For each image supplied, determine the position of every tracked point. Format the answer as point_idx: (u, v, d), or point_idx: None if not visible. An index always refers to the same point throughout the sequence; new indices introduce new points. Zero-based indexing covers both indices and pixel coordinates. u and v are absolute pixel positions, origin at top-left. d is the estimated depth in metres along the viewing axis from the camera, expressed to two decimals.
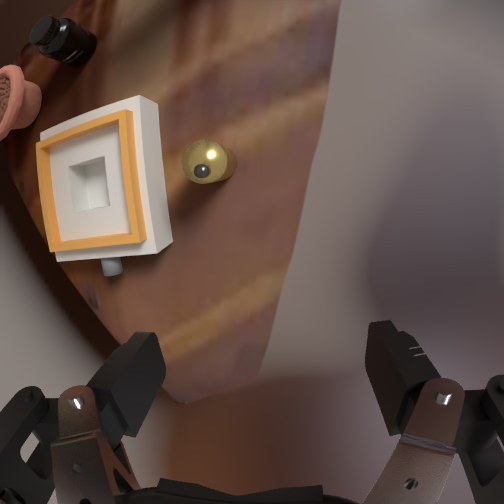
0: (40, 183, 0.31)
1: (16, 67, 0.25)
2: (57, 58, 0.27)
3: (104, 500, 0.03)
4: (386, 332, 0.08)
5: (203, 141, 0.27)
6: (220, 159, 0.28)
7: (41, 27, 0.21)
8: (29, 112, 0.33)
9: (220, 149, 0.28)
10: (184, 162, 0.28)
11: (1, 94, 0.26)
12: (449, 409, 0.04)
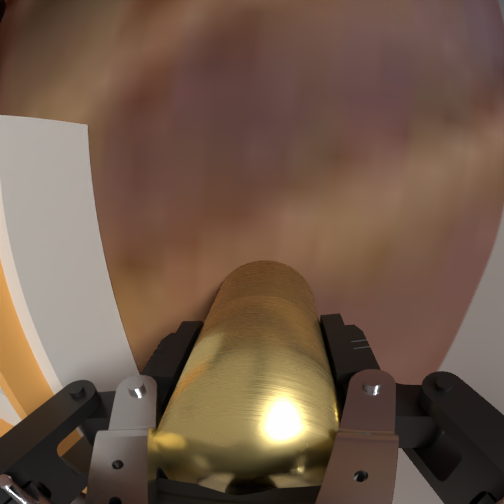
0: None
1: None
2: None
3: (136, 503, 0.03)
4: (332, 324, 0.09)
5: (249, 428, 0.04)
6: None
7: None
8: None
9: None
10: None
11: None
12: (374, 400, 0.05)
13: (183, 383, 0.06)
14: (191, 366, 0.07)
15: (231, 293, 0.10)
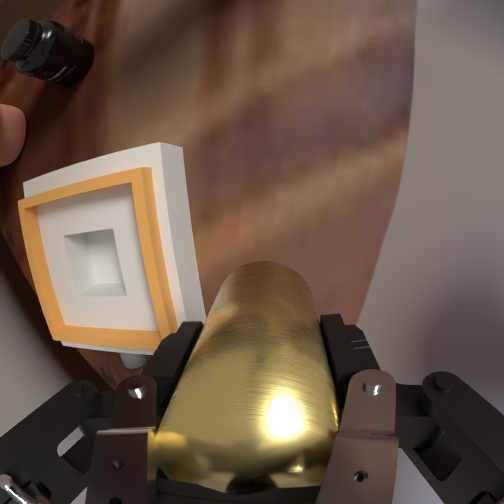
0: (29, 256, 0.23)
1: None
2: (40, 77, 0.20)
3: (137, 503, 0.03)
4: (332, 324, 0.09)
5: (249, 427, 0.04)
6: None
7: (16, 35, 0.13)
8: (11, 147, 0.25)
9: None
10: None
11: None
12: (374, 400, 0.05)
13: (184, 383, 0.06)
14: (192, 366, 0.07)
15: (231, 294, 0.10)
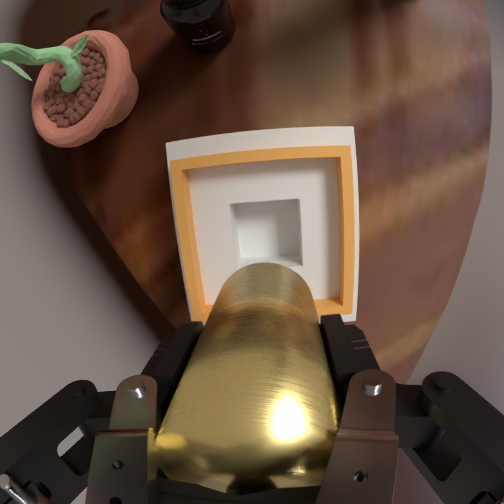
0: (181, 225, 0.26)
1: (112, 34, 0.20)
2: (191, 34, 0.22)
3: (137, 503, 0.03)
4: (332, 324, 0.09)
5: (250, 430, 0.04)
6: None
7: None
8: (125, 106, 0.28)
9: None
10: None
11: None
12: (373, 400, 0.05)
13: (184, 385, 0.06)
14: (192, 368, 0.07)
15: (231, 296, 0.10)
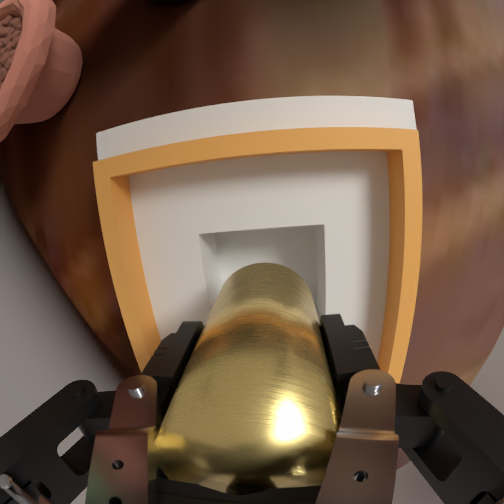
0: (117, 274, 0.14)
1: None
2: None
3: (137, 503, 0.03)
4: (332, 324, 0.09)
5: (249, 430, 0.04)
6: None
7: None
8: (57, 88, 0.16)
9: None
10: None
11: None
12: (374, 400, 0.05)
13: (184, 385, 0.06)
14: (192, 368, 0.07)
15: (231, 296, 0.10)
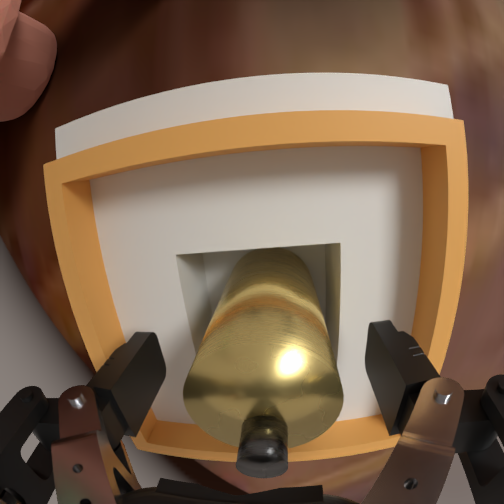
0: (77, 305, 0.10)
1: None
2: None
3: (105, 500, 0.03)
4: (386, 332, 0.08)
5: (266, 351, 0.07)
6: (325, 405, 0.07)
7: None
8: (26, 80, 0.12)
9: (332, 379, 0.07)
10: (193, 402, 0.07)
11: None
12: (448, 409, 0.04)
13: (211, 331, 0.08)
14: (217, 320, 0.09)
15: (244, 270, 0.12)
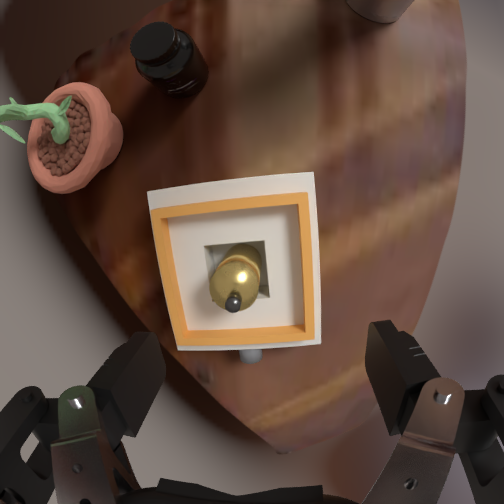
0: (162, 265, 0.30)
1: (94, 88, 0.25)
2: (165, 86, 0.27)
3: (105, 500, 0.03)
4: (386, 332, 0.08)
5: (233, 268, 0.26)
6: (252, 288, 0.26)
7: (154, 37, 0.20)
8: (111, 153, 0.32)
9: (252, 278, 0.26)
10: (212, 288, 0.27)
11: (70, 125, 0.26)
12: (449, 409, 0.04)
13: (218, 267, 0.28)
14: (219, 265, 0.28)
15: (230, 252, 0.32)
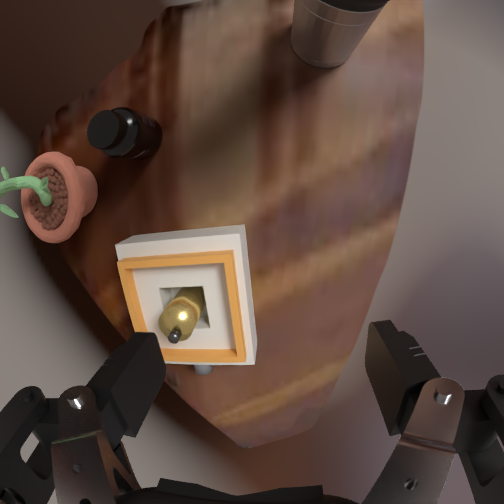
0: (128, 302, 0.38)
1: (67, 160, 0.32)
2: (122, 158, 0.34)
3: (105, 500, 0.03)
4: (386, 332, 0.08)
5: (173, 311, 0.34)
6: (188, 326, 0.34)
7: (103, 127, 0.27)
8: (88, 207, 0.39)
9: (187, 319, 0.34)
10: (160, 324, 0.35)
11: (52, 189, 0.33)
12: (449, 409, 0.04)
13: (165, 308, 0.36)
14: None
15: (179, 292, 0.40)
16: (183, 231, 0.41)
